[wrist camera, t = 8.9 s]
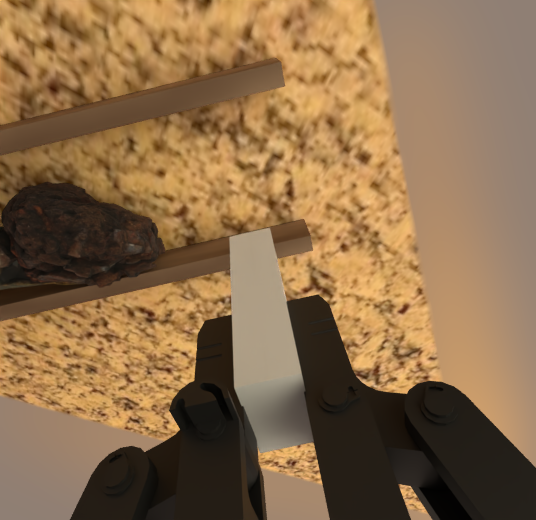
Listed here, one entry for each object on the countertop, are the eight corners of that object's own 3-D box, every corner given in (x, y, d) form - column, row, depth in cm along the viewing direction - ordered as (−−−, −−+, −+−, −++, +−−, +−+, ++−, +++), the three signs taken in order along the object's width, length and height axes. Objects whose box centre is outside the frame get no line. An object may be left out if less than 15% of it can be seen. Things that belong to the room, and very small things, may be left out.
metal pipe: (-72, 280, 28) (-134, 332, 23) (-129, 193, 24) (-218, 235, 20) (170, 253, 28) (158, 300, 24) (148, 165, 25) (128, 199, 20)
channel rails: (-178, 169, 23) (-220, 184, 21) (275, 57, 22) (280, 61, 20) (-50, 314, 29) (-72, 337, 27) (306, 233, 28) (313, 250, 26)
